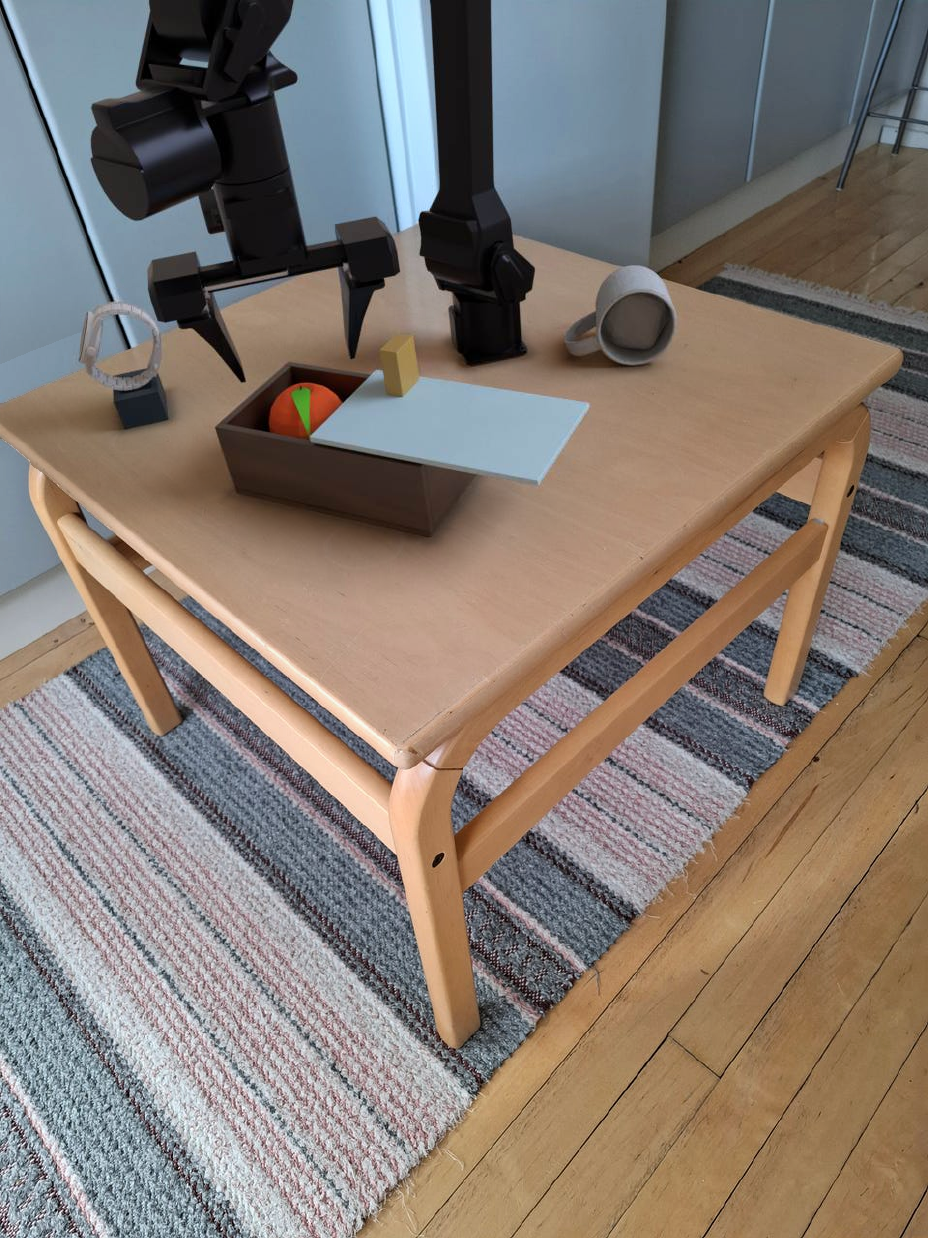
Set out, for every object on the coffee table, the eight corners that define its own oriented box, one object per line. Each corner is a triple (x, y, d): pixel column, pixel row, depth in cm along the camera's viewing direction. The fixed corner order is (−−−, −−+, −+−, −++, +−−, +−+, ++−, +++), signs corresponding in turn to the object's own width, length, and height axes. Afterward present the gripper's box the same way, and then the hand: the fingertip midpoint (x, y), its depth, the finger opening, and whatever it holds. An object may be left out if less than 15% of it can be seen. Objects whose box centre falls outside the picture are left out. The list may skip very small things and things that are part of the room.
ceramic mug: (664, 324, 95) (667, 251, 89) (675, 363, 89) (679, 287, 84) (562, 333, 96) (560, 262, 90) (566, 372, 90) (564, 298, 85)
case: (304, 425, 87) (288, 361, 82) (488, 460, 80) (482, 391, 75) (236, 493, 80) (214, 426, 75) (430, 537, 73) (420, 467, 68)
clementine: (361, 477, 79) (346, 405, 74) (282, 492, 78) (261, 421, 73) (350, 429, 84) (335, 359, 79) (276, 443, 84) (257, 374, 79)
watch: (104, 407, 93) (61, 305, 86) (182, 389, 94) (147, 287, 87) (104, 434, 89) (60, 330, 82) (186, 415, 90) (149, 311, 83)
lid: (377, 374, 79) (368, 325, 76) (589, 408, 72) (589, 355, 68) (310, 442, 72) (298, 391, 69) (538, 486, 65) (535, 432, 62)
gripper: (357, 118, 72) (387, 306, 82) (119, 161, 69) (182, 348, 80) (385, 159, 64) (414, 361, 74) (117, 209, 61) (187, 410, 72)
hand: (298, 368), depth 75 cm, fingers open, 9 cm apart
